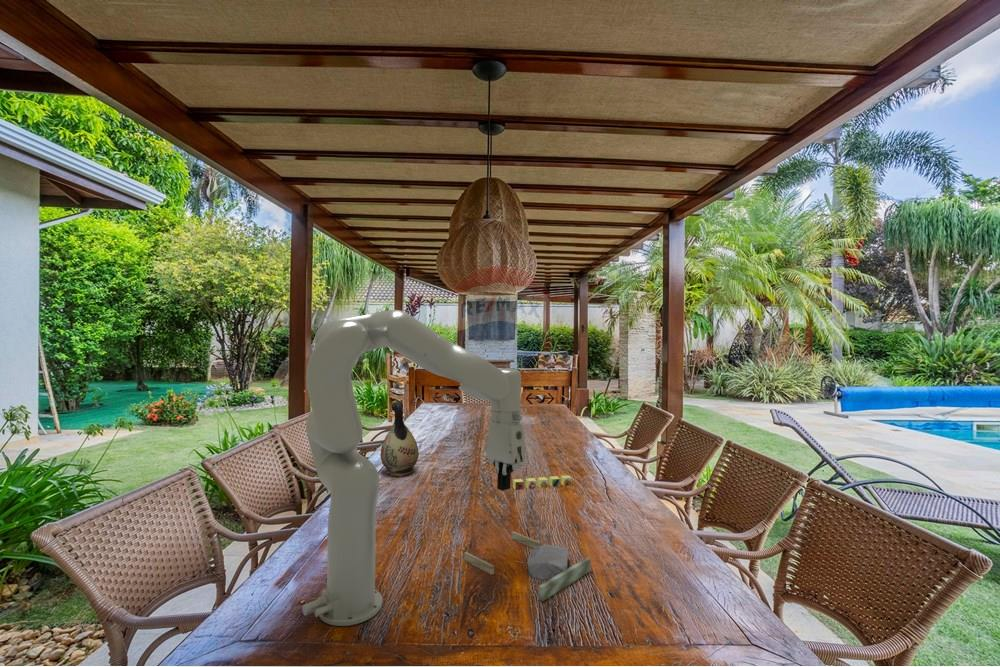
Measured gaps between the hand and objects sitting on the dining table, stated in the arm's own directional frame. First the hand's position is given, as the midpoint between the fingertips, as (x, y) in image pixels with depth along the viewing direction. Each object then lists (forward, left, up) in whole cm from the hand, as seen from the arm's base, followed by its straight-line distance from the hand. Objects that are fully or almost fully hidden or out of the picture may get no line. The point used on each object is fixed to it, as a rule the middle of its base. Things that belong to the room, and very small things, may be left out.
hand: (503, 488), depth 119 cm
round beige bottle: (+22, +80, -18) cm, 85 cm away
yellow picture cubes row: (+52, +27, -19) cm, 62 cm away
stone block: (+5, -11, -18) cm, 22 cm away
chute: (+1, -6, -18) cm, 19 cm away
